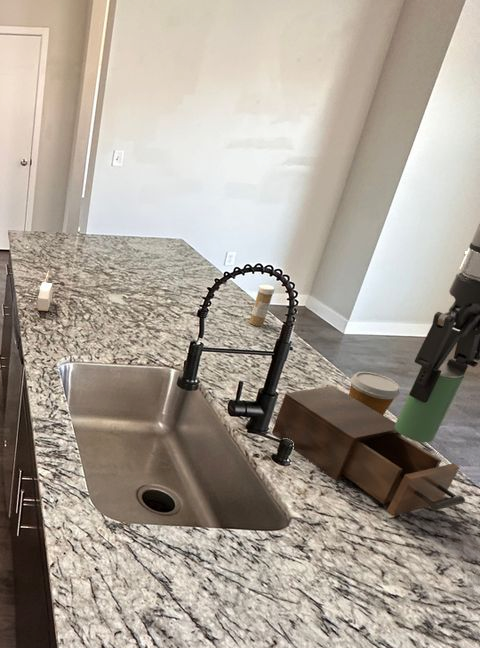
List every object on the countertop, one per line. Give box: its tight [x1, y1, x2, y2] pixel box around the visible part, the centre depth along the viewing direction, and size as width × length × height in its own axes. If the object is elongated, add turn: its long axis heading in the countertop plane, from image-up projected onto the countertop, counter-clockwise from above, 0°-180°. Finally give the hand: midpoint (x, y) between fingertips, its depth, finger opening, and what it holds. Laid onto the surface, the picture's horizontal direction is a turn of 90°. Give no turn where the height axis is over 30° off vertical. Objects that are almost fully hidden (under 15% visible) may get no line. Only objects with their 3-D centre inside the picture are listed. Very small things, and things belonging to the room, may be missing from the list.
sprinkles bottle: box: [248, 284, 275, 327], centre depth 178 cm, size 5×5×13 cm
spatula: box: [36, 270, 53, 312], centre depth 195 cm, size 38×8×4 cm
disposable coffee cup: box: [348, 371, 401, 416], centre depth 127 cm, size 10×10×12 cm
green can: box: [394, 363, 465, 443], centre depth 99 cm, size 6×6×14 cm
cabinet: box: [271, 385, 402, 482], centre depth 117 cm, size 17×14×11 cm
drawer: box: [342, 433, 466, 517], centre depth 105 cm, size 20×13×9 cm, turn 17°
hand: (430, 395), depth 99 cm, fingers closed on green can, 6 cm apart
